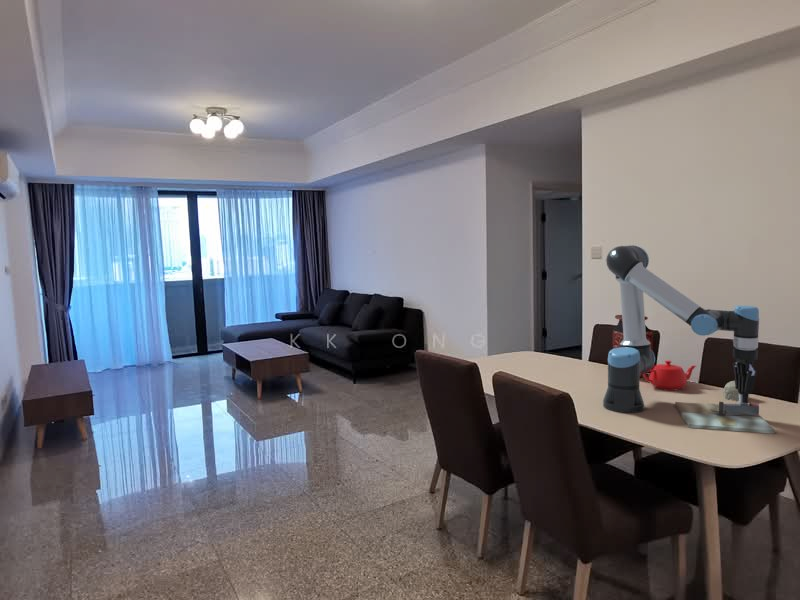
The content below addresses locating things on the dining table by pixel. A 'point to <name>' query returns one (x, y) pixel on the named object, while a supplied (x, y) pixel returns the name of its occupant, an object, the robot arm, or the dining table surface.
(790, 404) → the dining table surface
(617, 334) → the vase
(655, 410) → the dining table surface
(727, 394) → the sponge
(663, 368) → the teapot
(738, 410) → the lever
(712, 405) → the lock board
